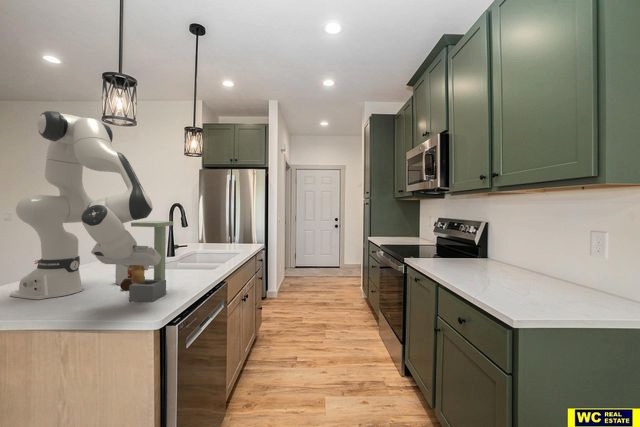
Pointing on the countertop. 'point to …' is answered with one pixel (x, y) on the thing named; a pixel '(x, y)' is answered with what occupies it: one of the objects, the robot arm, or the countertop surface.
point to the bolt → (126, 284)
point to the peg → (137, 274)
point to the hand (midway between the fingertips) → (139, 268)
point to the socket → (147, 290)
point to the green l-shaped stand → (157, 243)
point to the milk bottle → (122, 274)
